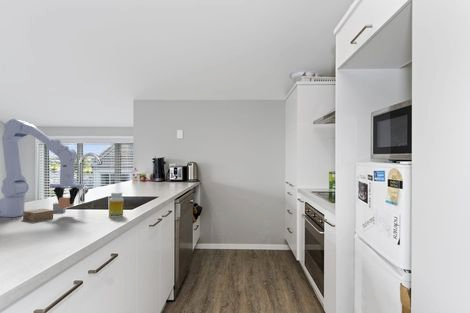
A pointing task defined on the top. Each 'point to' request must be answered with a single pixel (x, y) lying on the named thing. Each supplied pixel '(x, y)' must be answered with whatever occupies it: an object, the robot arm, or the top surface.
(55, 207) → the grey cube
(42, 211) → the walnut block
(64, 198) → the terracotta cube
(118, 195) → the supplement bottle
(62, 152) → the robot arm
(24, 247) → the top surface
